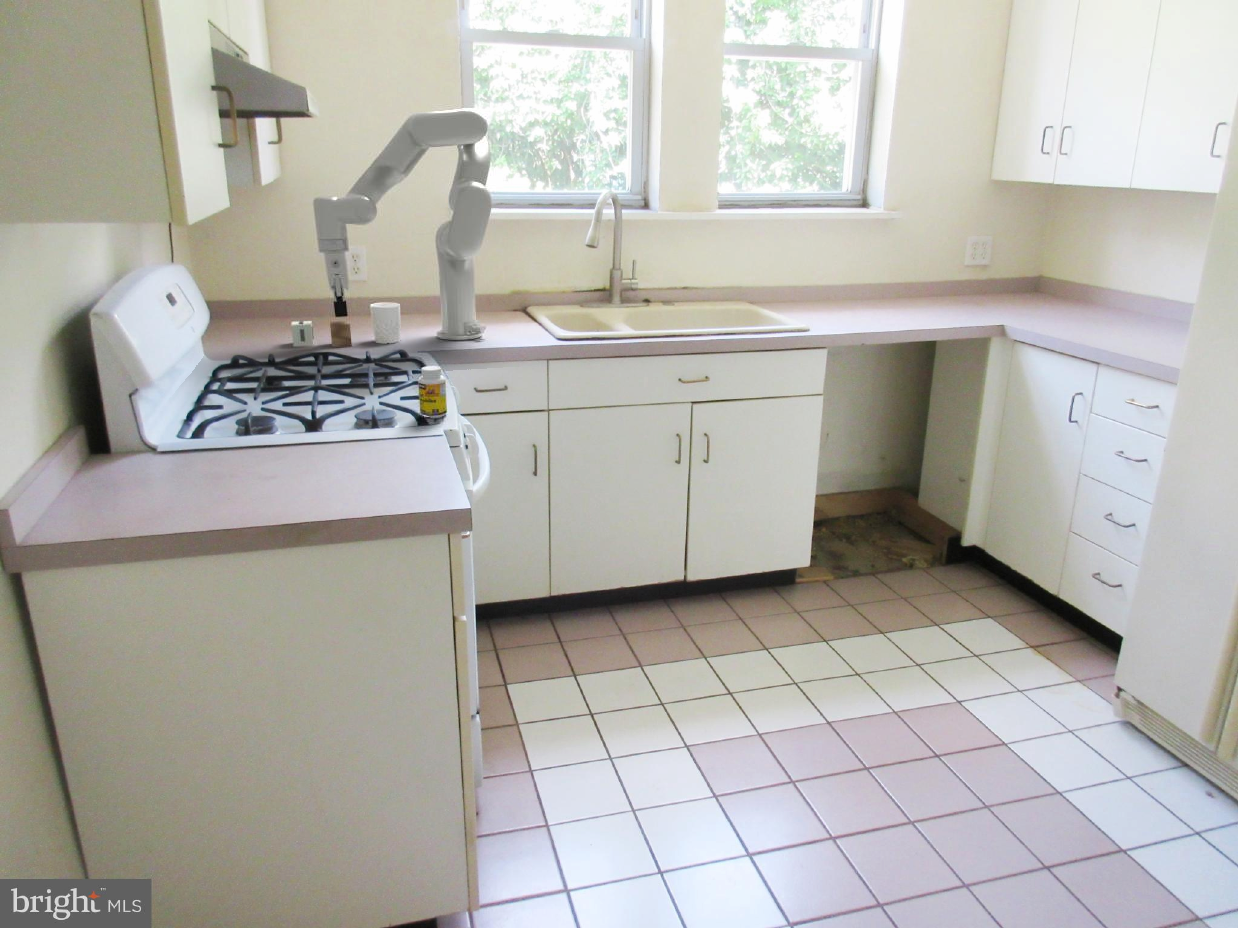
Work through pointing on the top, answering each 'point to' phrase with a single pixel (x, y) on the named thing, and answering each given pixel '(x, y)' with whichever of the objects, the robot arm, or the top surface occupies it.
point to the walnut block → (340, 333)
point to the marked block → (302, 333)
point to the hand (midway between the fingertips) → (341, 316)
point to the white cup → (386, 322)
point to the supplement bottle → (432, 392)
